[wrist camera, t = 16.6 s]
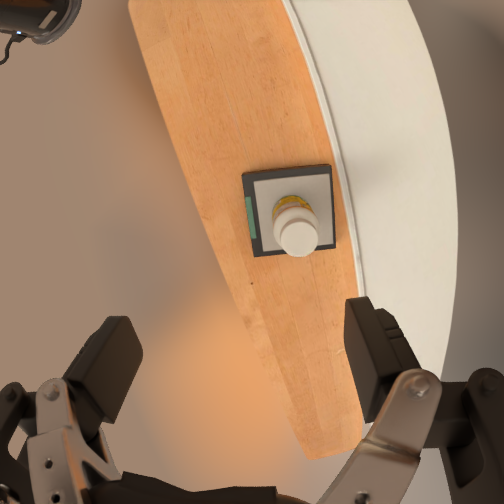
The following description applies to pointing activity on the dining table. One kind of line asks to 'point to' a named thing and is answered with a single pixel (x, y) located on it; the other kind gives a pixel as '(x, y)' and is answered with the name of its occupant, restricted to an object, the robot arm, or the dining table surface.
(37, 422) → the robot arm
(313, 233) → the supplement bottle
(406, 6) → the dining table surface
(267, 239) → the scale
